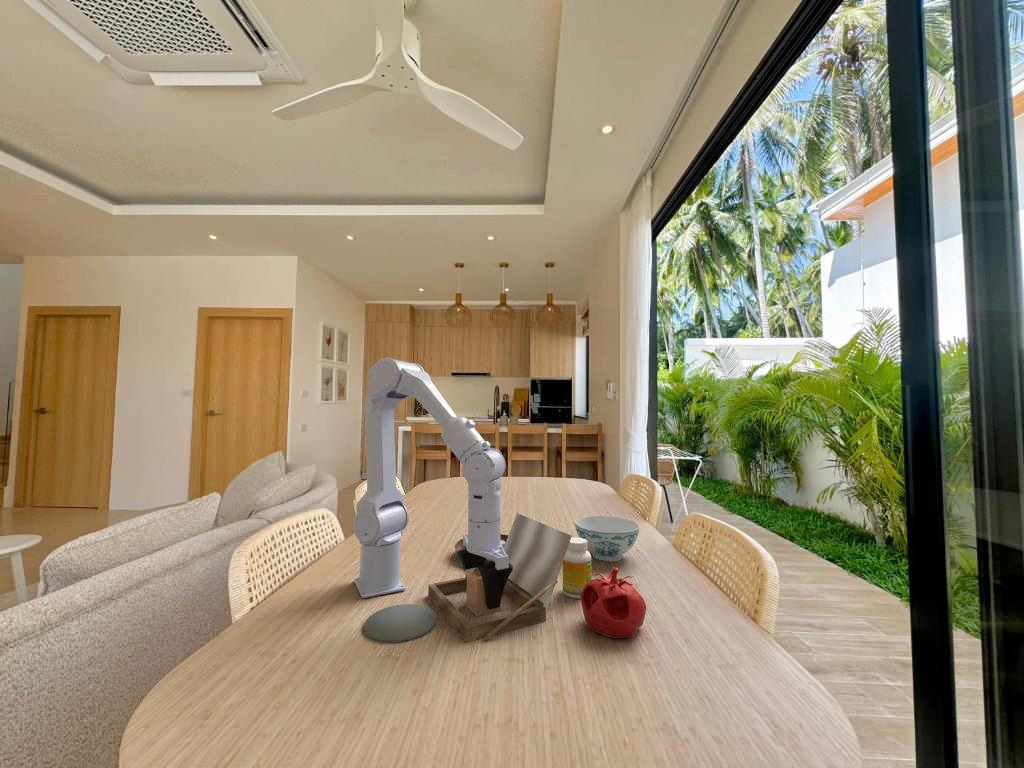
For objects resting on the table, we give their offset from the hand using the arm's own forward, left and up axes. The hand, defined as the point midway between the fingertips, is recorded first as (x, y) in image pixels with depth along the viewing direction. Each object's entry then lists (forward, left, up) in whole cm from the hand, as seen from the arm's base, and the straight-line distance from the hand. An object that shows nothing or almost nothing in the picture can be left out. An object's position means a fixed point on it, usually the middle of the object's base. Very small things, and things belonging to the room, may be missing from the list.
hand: (483, 598), depth 73 cm
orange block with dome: (0, 0, -2) cm, 2 cm away
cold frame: (+1, +3, -1) cm, 3 cm away
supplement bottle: (+3, +18, -2) cm, 18 cm away
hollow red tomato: (+16, +15, -2) cm, 22 cm away
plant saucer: (-23, +13, -2) cm, 26 cm away
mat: (-1, -14, -1) cm, 14 cm away
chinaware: (-10, +37, -2) cm, 38 cm away
